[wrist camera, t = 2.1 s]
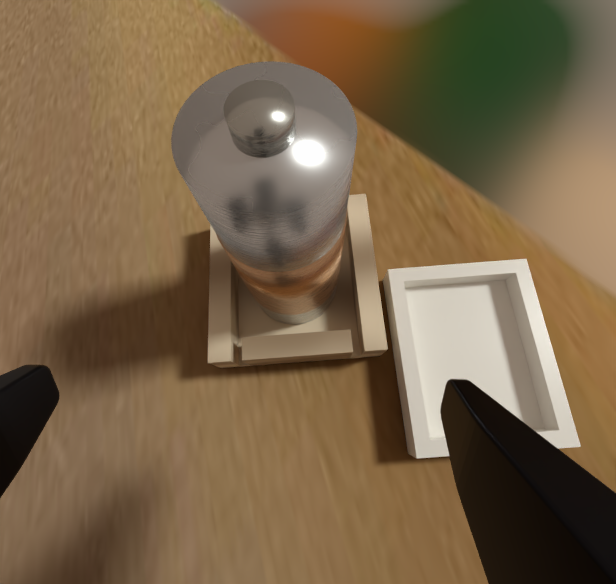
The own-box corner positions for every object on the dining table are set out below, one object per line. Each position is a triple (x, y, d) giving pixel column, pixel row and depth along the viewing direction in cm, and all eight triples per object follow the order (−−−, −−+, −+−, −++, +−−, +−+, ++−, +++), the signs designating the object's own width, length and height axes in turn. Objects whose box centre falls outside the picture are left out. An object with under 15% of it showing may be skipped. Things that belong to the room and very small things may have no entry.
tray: (557, 443, 19) (580, 446, 17) (408, 453, 19) (416, 458, 17) (510, 270, 22) (526, 258, 20) (382, 280, 22) (388, 269, 20)
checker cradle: (380, 356, 21) (388, 349, 18) (220, 368, 21) (207, 363, 18) (361, 215, 23) (365, 193, 21) (221, 226, 24) (210, 206, 21)
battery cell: (341, 322, 21) (374, 186, 8) (253, 328, 21) (149, 204, 8) (333, 242, 22) (350, 25, 10) (252, 249, 22) (163, 41, 10)
